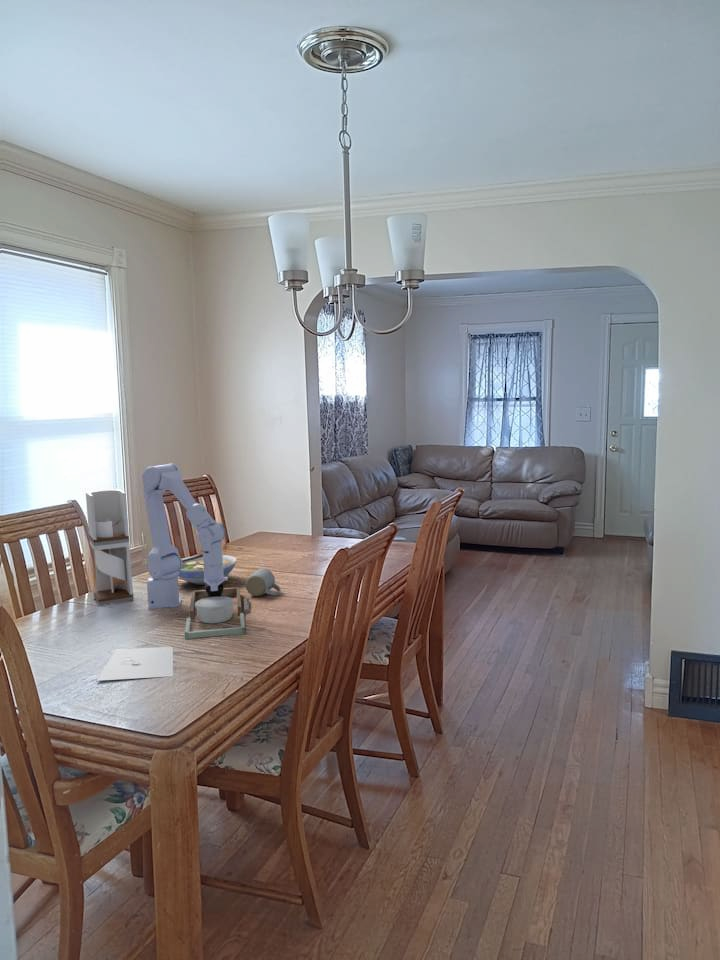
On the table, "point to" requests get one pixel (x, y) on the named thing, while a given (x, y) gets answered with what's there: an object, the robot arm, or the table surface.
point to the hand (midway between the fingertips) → (215, 608)
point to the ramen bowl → (202, 568)
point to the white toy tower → (110, 545)
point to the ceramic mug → (262, 583)
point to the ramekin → (214, 609)
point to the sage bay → (214, 632)
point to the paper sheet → (139, 663)
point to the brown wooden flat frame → (203, 594)
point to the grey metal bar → (246, 605)
